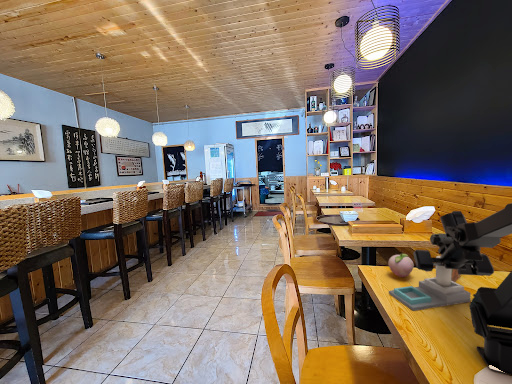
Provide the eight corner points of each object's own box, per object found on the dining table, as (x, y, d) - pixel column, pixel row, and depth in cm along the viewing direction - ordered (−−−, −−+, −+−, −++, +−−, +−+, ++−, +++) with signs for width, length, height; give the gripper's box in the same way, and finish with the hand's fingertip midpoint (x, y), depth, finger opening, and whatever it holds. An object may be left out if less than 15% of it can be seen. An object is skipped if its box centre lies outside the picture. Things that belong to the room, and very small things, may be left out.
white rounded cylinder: (453, 290, 71) (454, 261, 70) (438, 288, 73) (439, 260, 72) (446, 283, 76) (447, 255, 75) (432, 281, 77) (432, 254, 76)
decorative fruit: (392, 270, 94) (392, 247, 93) (415, 275, 88) (415, 252, 87) (385, 277, 88) (385, 253, 87) (409, 284, 82) (409, 259, 81)
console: (413, 310, 67) (413, 297, 66) (388, 293, 77) (388, 281, 76) (470, 301, 70) (470, 288, 69) (439, 286, 80) (439, 274, 79)
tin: (449, 287, 78) (450, 265, 78) (438, 284, 81) (439, 262, 80) (462, 275, 87) (462, 255, 86) (451, 272, 89) (452, 252, 89)
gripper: (489, 229, 65) (467, 251, 76) (415, 226, 71) (405, 247, 83) (507, 265, 58) (480, 284, 70) (424, 259, 65) (411, 277, 76)
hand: (441, 271), depth 75 cm, fingers open, 9 cm apart
